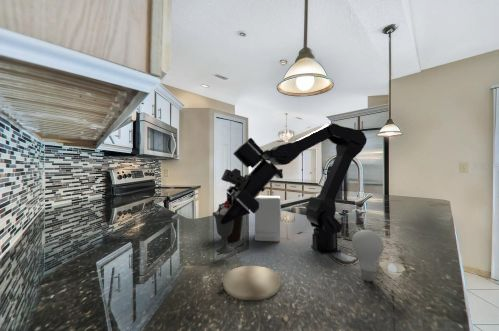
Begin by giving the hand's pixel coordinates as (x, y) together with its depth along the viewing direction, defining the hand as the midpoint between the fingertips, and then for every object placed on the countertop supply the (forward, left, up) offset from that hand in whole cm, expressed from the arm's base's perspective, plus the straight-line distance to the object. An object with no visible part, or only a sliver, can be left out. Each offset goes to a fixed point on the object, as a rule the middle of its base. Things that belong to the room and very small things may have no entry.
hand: (219, 220), depth 59 cm
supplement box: (-19, -16, -11) cm, 27 cm away
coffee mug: (-6, -19, -11) cm, 23 cm away
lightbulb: (-30, +19, -11) cm, 37 cm away
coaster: (-5, +14, -11) cm, 18 cm away
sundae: (-1, 0, -8) cm, 8 cm away
